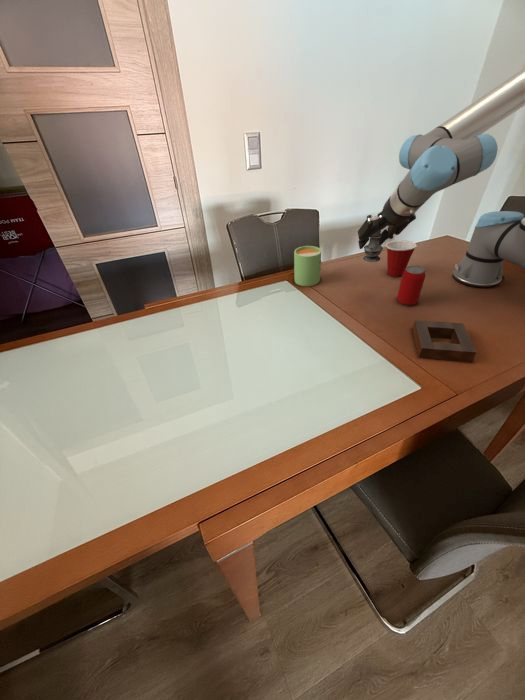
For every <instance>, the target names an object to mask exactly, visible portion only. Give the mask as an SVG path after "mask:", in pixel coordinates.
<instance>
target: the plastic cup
mask: <svg viewBox="0 0 525 700" xmlns="http://www.w3.org/2000/svg"><path fill="white" fill-rule="evenodd" d="M417 247H418V245H417V242H415V241H411V240H401V239H400V240H392V241H389V242H386V243H385V248H386V255H387V257H386V266H387V268H386V269H387V270H386V272H387V275H388V276H390V277H394V278H399V277H402V275H403V272H404V271H405V269H406V268H407V267H408V266H409V262H410V260H411V257H412V255H413V254H414V251H415V249H416V248H417Z"/></svg>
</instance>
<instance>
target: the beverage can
mask: <svg viewBox="0 0 525 700" xmlns="http://www.w3.org/2000/svg"><path fill="white" fill-rule="evenodd" d="M425 279H426V272H425V268H424V267H422V266H421V265H416V264H415V265H412V264H411V265H407V267H406V269H405V271H404V272H403V275H402V276H401V278H400V283H399V288H398V292H397V296H396V300H397V301H398V302H399V303H400V304H402V305H404V306H411V305H416V304H417V303H418V302H419V299H420V295H421V292H422V289H423V286H424V282H425Z"/></svg>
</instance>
